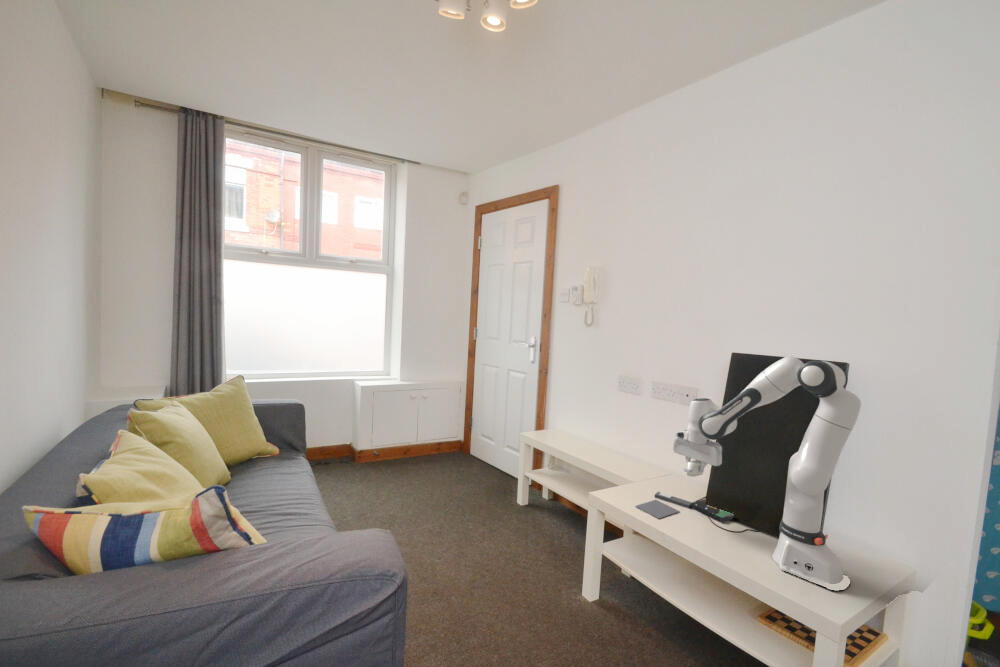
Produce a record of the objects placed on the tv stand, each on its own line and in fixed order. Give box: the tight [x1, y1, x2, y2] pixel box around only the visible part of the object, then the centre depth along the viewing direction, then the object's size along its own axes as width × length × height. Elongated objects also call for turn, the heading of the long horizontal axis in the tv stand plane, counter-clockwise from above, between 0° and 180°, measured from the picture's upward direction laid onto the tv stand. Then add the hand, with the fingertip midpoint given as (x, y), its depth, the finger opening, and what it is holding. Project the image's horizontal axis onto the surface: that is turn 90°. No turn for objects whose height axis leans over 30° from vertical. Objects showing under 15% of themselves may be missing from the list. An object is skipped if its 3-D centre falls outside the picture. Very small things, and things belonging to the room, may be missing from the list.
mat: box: [634, 499, 680, 520], centre depth 196 cm, size 12×14×1 cm
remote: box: [654, 491, 692, 509], centre depth 206 cm, size 15×4×2 cm, turn 53°
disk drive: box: [689, 499, 734, 524], centre depth 197 cm, size 10×3×15 cm
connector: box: [683, 459, 704, 478], centre depth 190 cm, size 4×10×5 cm, turn 125°
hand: (695, 469), depth 191 cm, fingers closed on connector, 3 cm apart
